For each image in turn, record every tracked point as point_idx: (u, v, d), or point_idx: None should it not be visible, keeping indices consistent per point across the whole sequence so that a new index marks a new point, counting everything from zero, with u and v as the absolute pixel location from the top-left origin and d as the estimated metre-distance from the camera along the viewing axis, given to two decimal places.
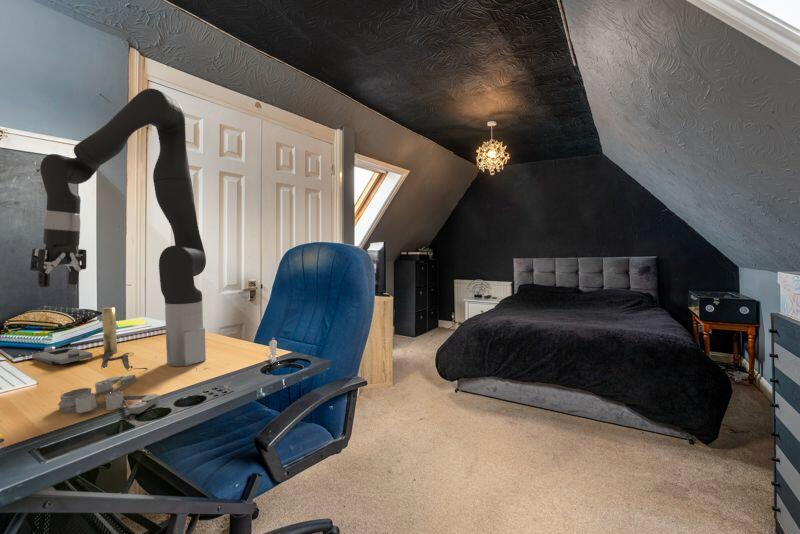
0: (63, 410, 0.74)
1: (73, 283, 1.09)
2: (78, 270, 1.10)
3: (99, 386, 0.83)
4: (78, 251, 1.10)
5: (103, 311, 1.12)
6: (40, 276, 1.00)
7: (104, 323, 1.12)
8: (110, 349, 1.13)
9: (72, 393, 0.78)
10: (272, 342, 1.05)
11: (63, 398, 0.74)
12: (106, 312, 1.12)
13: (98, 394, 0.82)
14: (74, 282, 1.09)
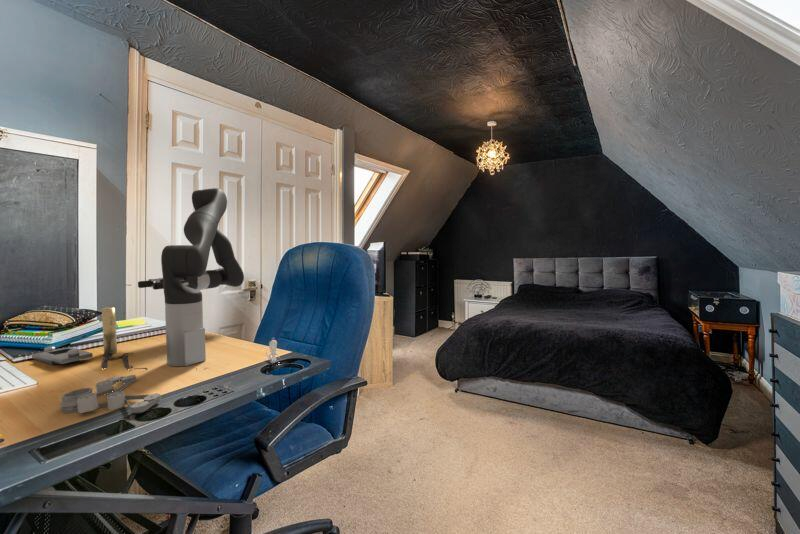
0: (65, 410, 0.74)
1: None
2: None
3: (100, 386, 0.83)
4: None
5: (103, 311, 1.12)
6: None
7: (104, 323, 1.12)
8: (110, 349, 1.13)
9: (73, 393, 0.78)
10: (272, 342, 1.05)
11: (64, 398, 0.74)
12: (106, 312, 1.12)
13: (99, 394, 0.82)
14: None
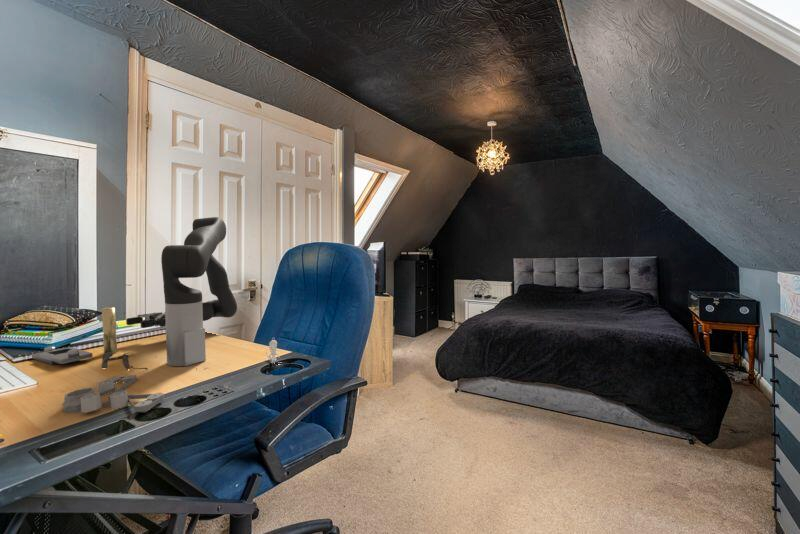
0: (67, 410, 0.74)
1: None
2: (155, 318, 1.22)
3: (101, 386, 0.83)
4: None
5: (103, 311, 1.12)
6: None
7: (104, 323, 1.12)
8: (110, 349, 1.13)
9: (75, 393, 0.78)
10: (272, 342, 1.05)
11: (67, 398, 0.75)
12: (106, 312, 1.12)
13: (101, 394, 0.83)
14: None
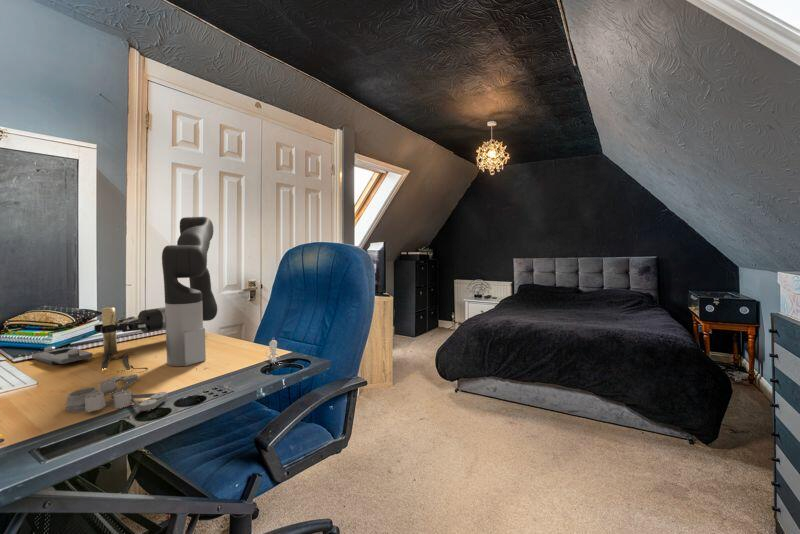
0: (71, 409, 0.75)
1: None
2: (117, 323, 1.14)
3: (103, 386, 0.83)
4: None
5: (103, 311, 1.12)
6: None
7: (104, 323, 1.12)
8: (110, 349, 1.13)
9: (78, 393, 0.78)
10: (272, 342, 1.05)
11: (71, 398, 0.75)
12: (106, 312, 1.12)
13: (103, 394, 0.83)
14: None
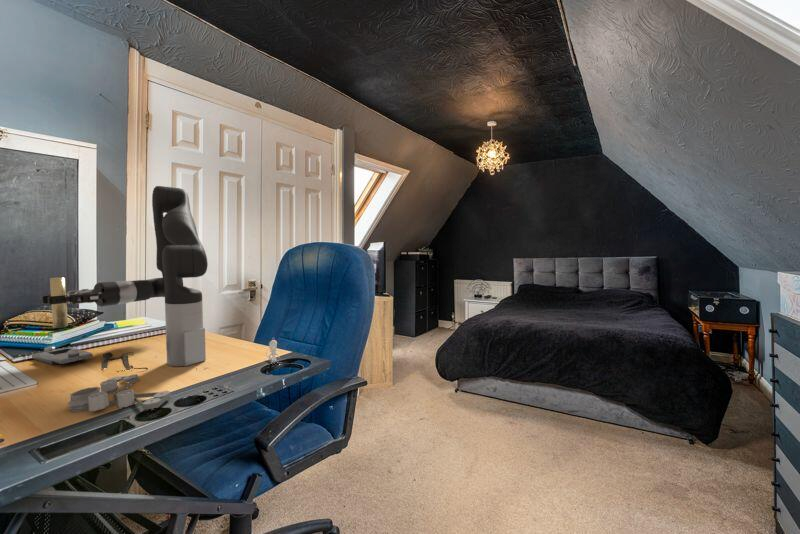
0: (74, 409, 0.75)
1: None
2: (67, 294, 1.07)
3: (105, 385, 0.84)
4: None
5: (51, 281, 1.05)
6: None
7: (52, 294, 1.05)
8: (59, 322, 1.06)
9: (80, 393, 0.78)
10: (272, 342, 1.05)
11: (74, 397, 0.75)
12: (54, 282, 1.05)
13: None
14: None
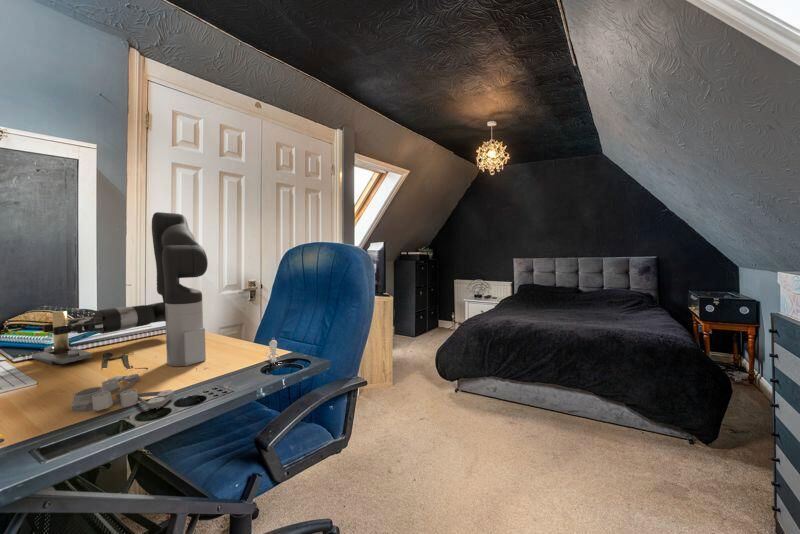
0: (77, 409, 0.75)
1: None
2: (72, 324, 1.07)
3: (107, 385, 0.84)
4: None
5: (53, 315, 1.06)
6: None
7: None
8: None
9: (83, 393, 0.78)
10: (272, 342, 1.05)
11: (77, 397, 0.75)
12: (57, 316, 1.06)
13: None
14: None
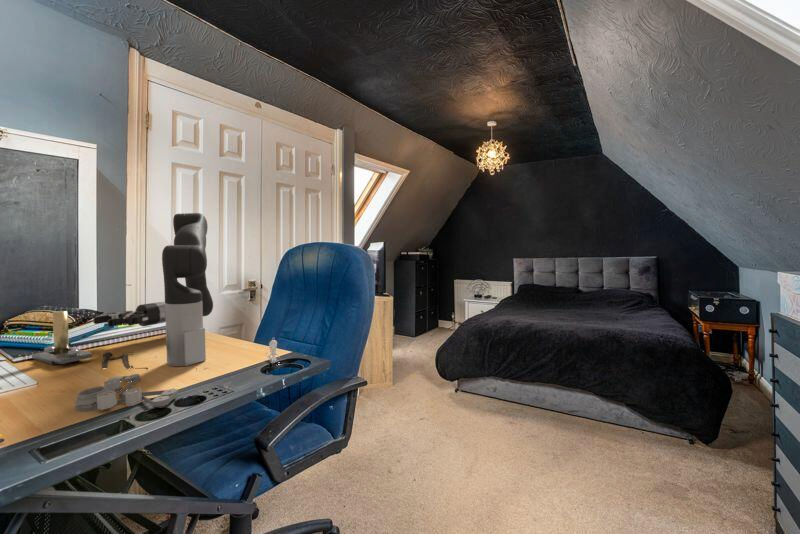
0: (81, 408, 0.75)
1: None
2: (123, 317, 1.18)
3: (109, 385, 0.84)
4: None
5: (53, 315, 1.06)
6: None
7: (54, 328, 1.06)
8: None
9: (86, 392, 0.79)
10: (272, 342, 1.05)
11: (81, 397, 0.75)
12: (57, 316, 1.06)
13: None
14: None
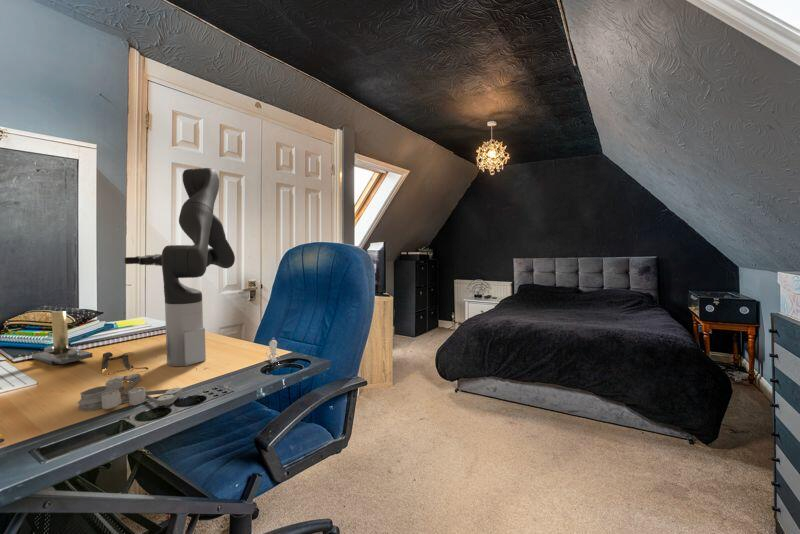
0: (85, 408, 0.75)
1: None
2: (153, 257, 1.22)
3: (111, 385, 0.84)
4: None
5: (52, 315, 1.06)
6: None
7: (53, 328, 1.06)
8: None
9: (89, 392, 0.79)
10: (272, 342, 1.05)
11: (85, 396, 0.75)
12: (56, 316, 1.06)
13: None
14: None
